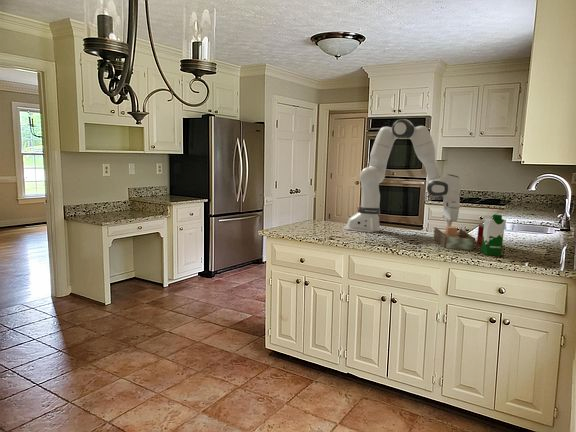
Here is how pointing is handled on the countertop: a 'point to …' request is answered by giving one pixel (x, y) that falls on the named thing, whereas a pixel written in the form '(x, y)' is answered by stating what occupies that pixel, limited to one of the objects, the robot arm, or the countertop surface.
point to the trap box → (455, 240)
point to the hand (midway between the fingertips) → (449, 226)
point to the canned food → (480, 234)
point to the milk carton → (493, 235)
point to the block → (451, 230)
